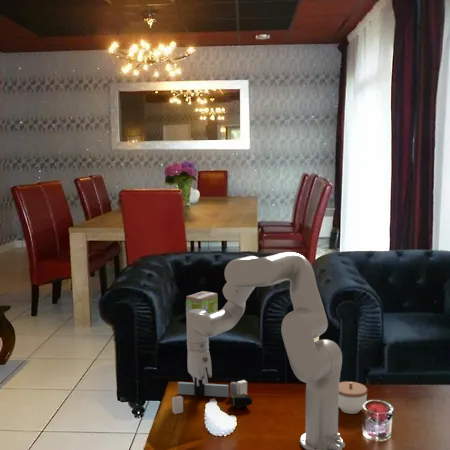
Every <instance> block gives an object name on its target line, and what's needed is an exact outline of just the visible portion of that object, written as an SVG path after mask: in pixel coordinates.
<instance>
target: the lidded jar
mask: <svg viewBox="0 0 450 450" xmlns="http://www.w3.org/2000/svg"><path fill="white" fill-rule="evenodd" d="M367 397H368V388H367V387H366V386H365V384H362V383H359V382H355V381H341V382H340V381H339V399H338V409H340V410H341V411H342V412H343V413H345V414H348V415H349V414H352V415H354V414H358V413H360V411H362V410H363V408H362V404H363V403H364V402H366V403H367Z"/></svg>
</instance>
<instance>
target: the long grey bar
mask: <svg viewBox="0 0 450 450" xmlns="http://www.w3.org/2000/svg"><path fill="white" fill-rule="evenodd" d="M177 390H178V391H177V394H178V395H189V396H195V395H194V383H193V382H186V381H185V382H184V381H178V382H177ZM204 393H205V395H204V396H203V397H206V396H207V397H217V398H218V397H220V398H221V397H223V398H228V397H229V384H218V383H217V384H216V383H206V384H205V385H204Z"/></svg>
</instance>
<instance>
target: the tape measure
mask: <svg viewBox="0 0 450 450" xmlns="http://www.w3.org/2000/svg"><path fill="white" fill-rule="evenodd" d="M229 397H230V396H229ZM229 404H230V406H232V407H233V408H234V407H235V408H236V409H238V408H244V407H247V406H251V405H252V404H253V399H252V397H251V396H249V395H248V394H247V395H246V394H235V395H232V396H231V397H230V398H229Z"/></svg>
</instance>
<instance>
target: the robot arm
mask: <svg viewBox="0 0 450 450" xmlns="http://www.w3.org/2000/svg"><path fill="white" fill-rule="evenodd" d="M223 274H224V279H225V281H226V283H225V284H224V286H223V288H222V293H223V296H224V298H225V299H226V300H227V302H226V303H225V304H224V306H222V308H221V309H219V310H218V311H215V312H212V313H209V314H208V313H207V311H206V310H203V309H192V310H189V311H188V312H187V315H186V314H185V318H186V320H185V321H186V345H187V346H186V348H187V357H186V358H187V360H186V362H187V363H186V365H187V372H188V374H190V376H191V377H192V381H193V382H192V383H194V395H193V396H195V398H201V397H205V396H204V395H205V393H204V385H205V384H209V381H208V380H209V379H211V378H212V377H213V373H212V372H213V371H212V370H213V368H212V359H211V355H210V354H211V353H210V350H209V349H210V345H209V344H210V340H209V339H210V338H211V337H215V336H217V335H219V334H223V333H224V332H227V331H229V330H230V331H231V330H232V329H233V328H234V327H235V326H236V325H237V323H238V322H239V321H240V319H241V317H243V315H244V313H245V310H246V302H247V300H248V299H249V297H250V295H251V294H252V292H253V291H254V290H255V288H257V287H269V286H274V285H277V284H279V283H282V282H283V283H284V282H285V281H289V282H290V283H289V284H290V285H289V295H290V300H291V302H292V307H293V310H292V311H290V312H288V313H287V314H286V315H284V317H283V319H282V322H281V328H280V329H281V336H282V340H283V343H284V348H285V350H286V353H287V358H288V360H289V361H288V362H289V364H290V367H291V370H292V371H293V374H294V376H295V377H296V378H297V379H298V380H299V381H301V382H302V383H306V384H305V385H306V387H305V433H303V434H302V435H301V436H300V438H299V442H300V445H301V447H302V448H304V449H305V450H343V448H345V446H346V443H345V442H344V440H343V438H342V437H341V433H339V406H338V399H339V383H340V378H341V371H342V365H343V353H342V351H341V350H342V349H341V347H339V345H338V343H336V342H335V341H333V340H330V339H326V338H325V339H319V340H316V341H315V338H318V337H320V336H321V335H323V334H324V333H326V331H327V330H328V326H329V321H328V318H327V314H326V311H325V310H326V309H325V308H324V304H323V301H322V297H321V294H320V291H319V288H318V283H317V280H316V274H315V271H314V268H313V266H312V263H311V262H310V261H309V260H308V259H307V258H306V257H305V256H304V255H302V254H300V253H297V252H293V251H284V252H279V253H275V254H271V255H268V256H263V257H258V256H255V255H246V256H244V257H237V258H235V259H232V260H230V261H229V262H228V263H227V265H226V266H225V268H224V273H223ZM208 378H209V379H208Z"/></svg>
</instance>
